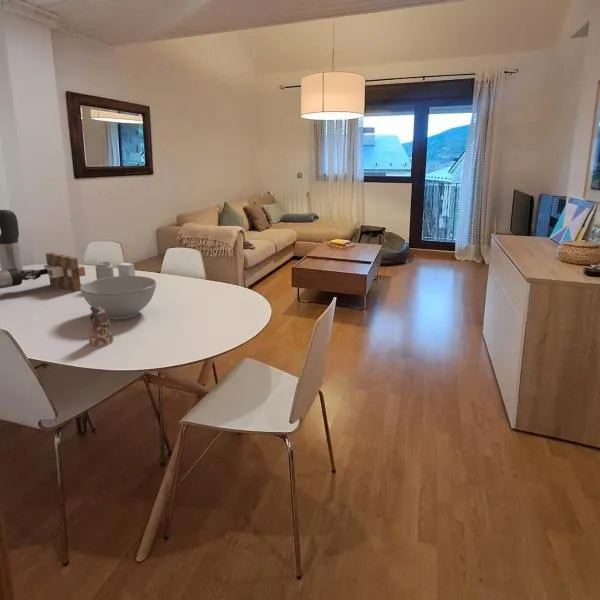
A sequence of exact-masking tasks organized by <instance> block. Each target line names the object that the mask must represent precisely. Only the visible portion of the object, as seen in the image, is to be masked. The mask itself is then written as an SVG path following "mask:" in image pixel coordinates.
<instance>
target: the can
mask: <svg viewBox="0 0 600 600" xmlns="http://www.w3.org/2000/svg"><path fill="white" fill-rule="evenodd" d="M95 276H96V279H101V278H107V277H115V271H114V265H113V264H112V262H110V261H102V262H97V263H96V266H95Z"/></svg>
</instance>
